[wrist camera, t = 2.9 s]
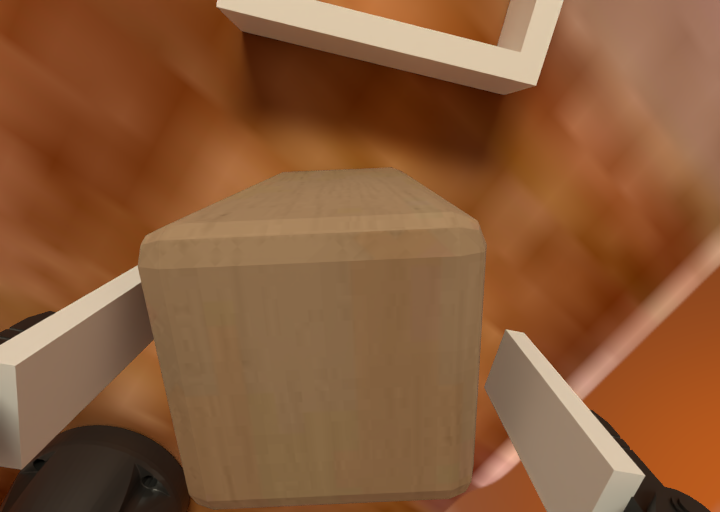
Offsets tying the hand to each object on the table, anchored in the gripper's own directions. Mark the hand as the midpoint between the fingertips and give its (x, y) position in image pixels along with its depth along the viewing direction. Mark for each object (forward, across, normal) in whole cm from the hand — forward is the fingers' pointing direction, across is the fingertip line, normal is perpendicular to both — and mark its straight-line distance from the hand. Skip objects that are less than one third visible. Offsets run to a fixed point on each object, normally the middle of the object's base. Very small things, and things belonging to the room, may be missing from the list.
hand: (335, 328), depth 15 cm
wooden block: (+16, 0, 0) cm, 17 cm away
